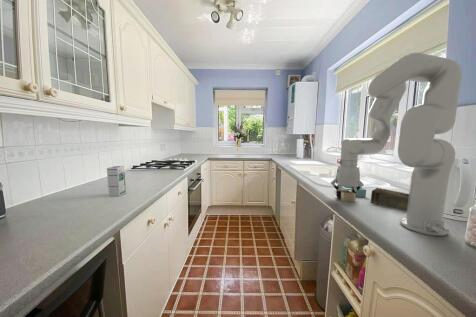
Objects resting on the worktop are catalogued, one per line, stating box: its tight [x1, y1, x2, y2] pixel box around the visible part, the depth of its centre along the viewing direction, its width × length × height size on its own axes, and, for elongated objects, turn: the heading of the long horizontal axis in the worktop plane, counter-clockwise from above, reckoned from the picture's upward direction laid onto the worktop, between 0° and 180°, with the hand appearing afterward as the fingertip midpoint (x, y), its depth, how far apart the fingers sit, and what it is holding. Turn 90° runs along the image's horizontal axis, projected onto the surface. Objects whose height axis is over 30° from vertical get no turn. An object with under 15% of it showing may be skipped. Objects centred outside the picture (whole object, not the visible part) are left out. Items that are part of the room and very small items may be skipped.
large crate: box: [336, 184, 367, 198], centre depth 117 cm, size 12×11×4 cm
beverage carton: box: [370, 187, 409, 211], centre depth 98 cm, size 8×19×7 cm, turn 41°
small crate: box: [339, 190, 356, 203], centre depth 106 cm, size 7×6×4 cm
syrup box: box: [106, 165, 127, 197], centre depth 107 cm, size 6×6×14 cm
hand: (345, 198), depth 106 cm, fingers closed on small crate, 6 cm apart
